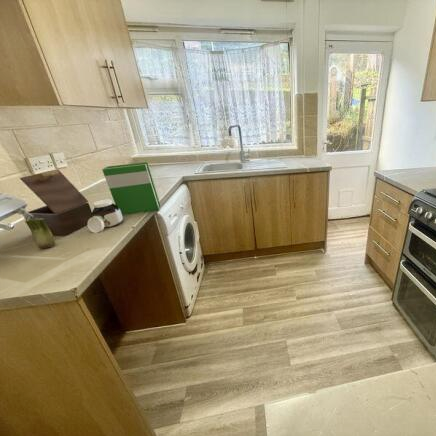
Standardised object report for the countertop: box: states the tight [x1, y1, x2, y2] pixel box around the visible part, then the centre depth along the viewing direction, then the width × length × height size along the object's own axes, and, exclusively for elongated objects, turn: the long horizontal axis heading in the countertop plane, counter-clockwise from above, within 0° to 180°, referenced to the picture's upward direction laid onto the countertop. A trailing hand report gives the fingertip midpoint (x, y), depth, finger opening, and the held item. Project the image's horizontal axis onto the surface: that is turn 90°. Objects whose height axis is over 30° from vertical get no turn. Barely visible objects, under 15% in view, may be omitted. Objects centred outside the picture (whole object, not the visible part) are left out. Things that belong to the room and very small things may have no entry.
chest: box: [25, 202, 93, 237], centre depth 109 cm, size 17×15×10 cm
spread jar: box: [86, 198, 124, 234], centre depth 108 cm, size 12×11×12 cm
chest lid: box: [19, 169, 89, 214], centre depth 103 cm, size 17×15×5 cm
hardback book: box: [101, 161, 161, 216], centre depth 122 cm, size 18×7×24 cm, turn 111°
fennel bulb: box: [24, 218, 56, 249], centre depth 93 cm, size 6×5×12 cm
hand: (22, 223), depth 90 cm, fingers open, 8 cm apart
